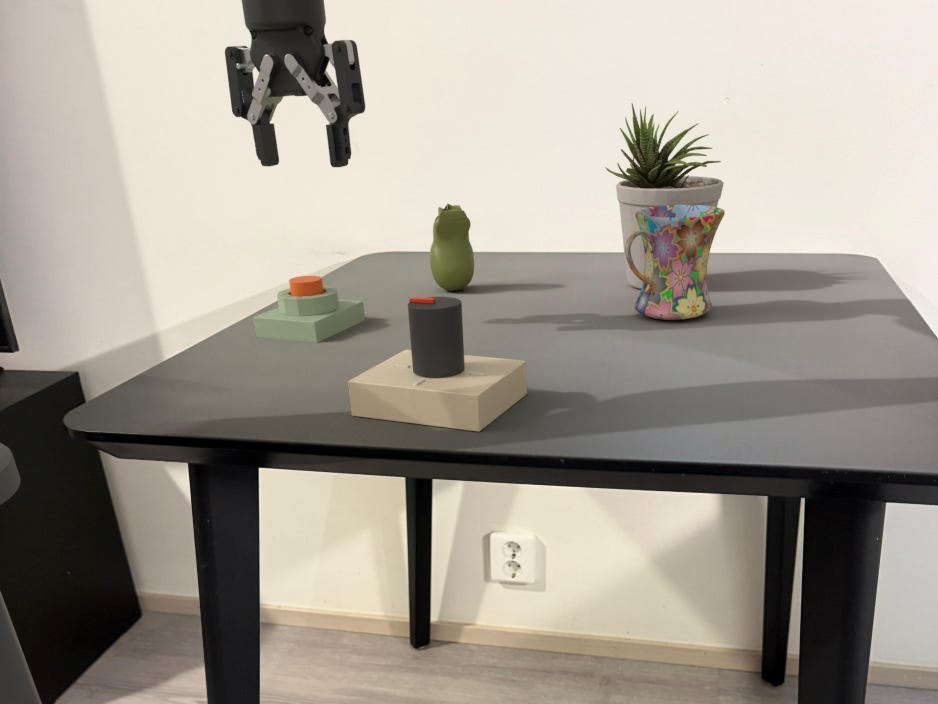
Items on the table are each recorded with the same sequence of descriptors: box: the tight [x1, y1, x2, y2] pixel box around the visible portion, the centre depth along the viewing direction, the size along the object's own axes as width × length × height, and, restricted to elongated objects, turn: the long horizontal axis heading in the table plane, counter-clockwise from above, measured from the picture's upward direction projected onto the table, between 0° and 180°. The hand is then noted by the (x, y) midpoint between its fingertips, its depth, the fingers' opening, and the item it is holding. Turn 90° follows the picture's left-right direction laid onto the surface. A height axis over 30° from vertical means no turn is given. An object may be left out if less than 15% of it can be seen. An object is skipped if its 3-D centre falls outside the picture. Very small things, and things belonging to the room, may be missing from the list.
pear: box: [429, 203, 475, 292], centre depth 115 cm, size 6×5×10 cm
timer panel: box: [347, 349, 528, 433], centre depth 79 cm, size 10×12×3 cm
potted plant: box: [604, 102, 725, 290], centre depth 111 cm, size 13×14×20 cm
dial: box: [407, 296, 465, 378], centre depth 77 cm, size 4×4×6 cm
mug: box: [624, 205, 725, 321], centre depth 100 cm, size 12×9×11 cm
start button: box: [288, 275, 324, 296], centre depth 101 cm, size 4×4×2 cm
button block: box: [252, 285, 366, 343], centre depth 103 cm, size 10×8×4 cm
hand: (304, 166), depth 93 cm, fingers open, 8 cm apart
